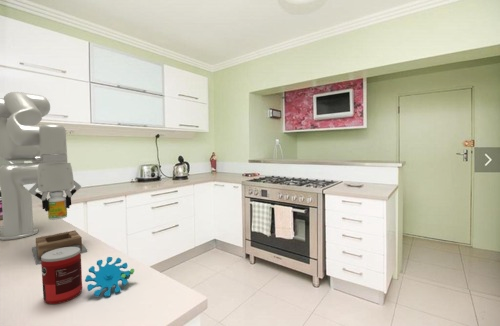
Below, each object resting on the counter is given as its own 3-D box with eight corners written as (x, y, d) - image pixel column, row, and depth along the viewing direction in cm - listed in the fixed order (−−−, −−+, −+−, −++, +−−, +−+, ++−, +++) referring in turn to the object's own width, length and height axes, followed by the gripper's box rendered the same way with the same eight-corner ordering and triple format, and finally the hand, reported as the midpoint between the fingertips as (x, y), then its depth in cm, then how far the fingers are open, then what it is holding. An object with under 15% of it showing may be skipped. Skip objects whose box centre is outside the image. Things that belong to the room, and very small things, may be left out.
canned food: (57, 287, 65) (55, 247, 65) (89, 286, 66) (87, 245, 65) (34, 306, 57) (31, 260, 57) (70, 303, 58) (68, 258, 58)
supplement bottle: (46, 221, 86) (44, 193, 85) (50, 217, 91) (48, 191, 90) (65, 218, 88) (63, 191, 88) (68, 215, 93) (66, 190, 93)
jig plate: (32, 249, 92) (31, 242, 92) (77, 239, 102) (76, 232, 101) (36, 264, 79) (35, 256, 79) (87, 251, 89) (86, 244, 89)
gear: (82, 298, 57) (87, 257, 63) (81, 307, 61) (86, 267, 67) (134, 290, 63) (134, 253, 69) (131, 299, 66) (131, 262, 73)
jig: (36, 248, 90) (35, 238, 90) (75, 240, 99) (75, 230, 99) (39, 258, 82) (38, 246, 82) (82, 248, 90) (81, 237, 90)
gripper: (22, 160, 80) (26, 215, 81) (84, 158, 92) (87, 206, 93) (21, 160, 85) (25, 212, 86) (80, 158, 97) (83, 204, 98)
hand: (57, 208), depth 89 cm, fingers closed on supplement bottle, 5 cm apart
